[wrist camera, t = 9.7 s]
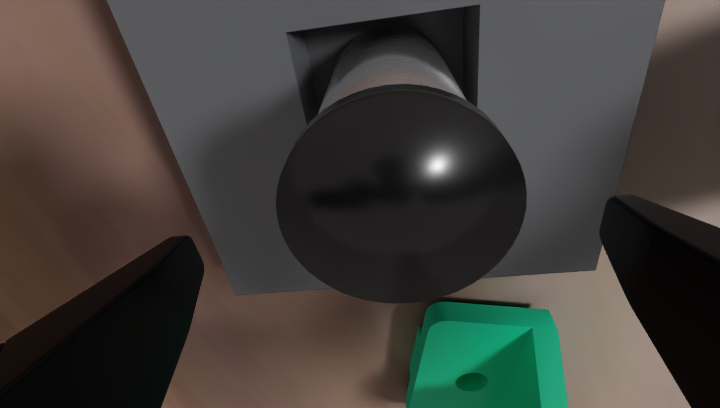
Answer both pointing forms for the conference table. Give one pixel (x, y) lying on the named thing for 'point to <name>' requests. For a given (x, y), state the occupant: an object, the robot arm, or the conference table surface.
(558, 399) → the camera mount
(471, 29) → the mount block
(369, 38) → the tube
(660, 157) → the conference table surface
